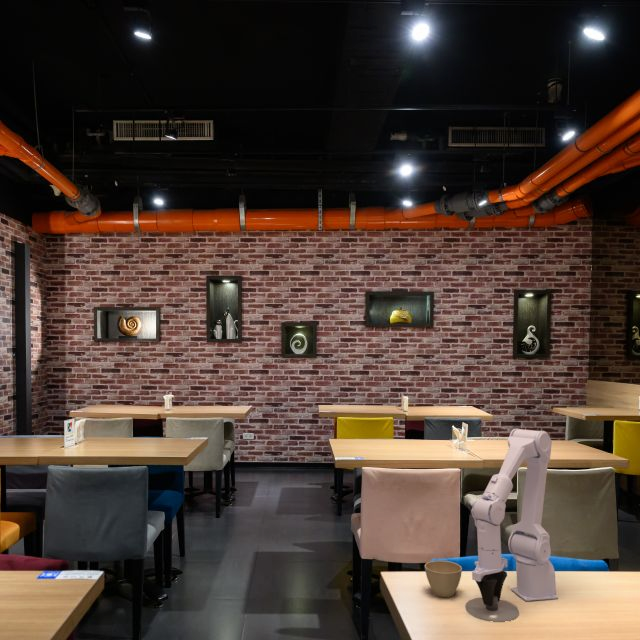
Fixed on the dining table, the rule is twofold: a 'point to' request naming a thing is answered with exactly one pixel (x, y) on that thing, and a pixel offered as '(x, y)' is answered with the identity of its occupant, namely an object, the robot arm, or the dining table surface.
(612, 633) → the dining table surface
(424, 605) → the dining table surface
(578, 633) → the dining table surface
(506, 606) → the lid
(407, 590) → the dining table surface
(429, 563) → the flower pot
